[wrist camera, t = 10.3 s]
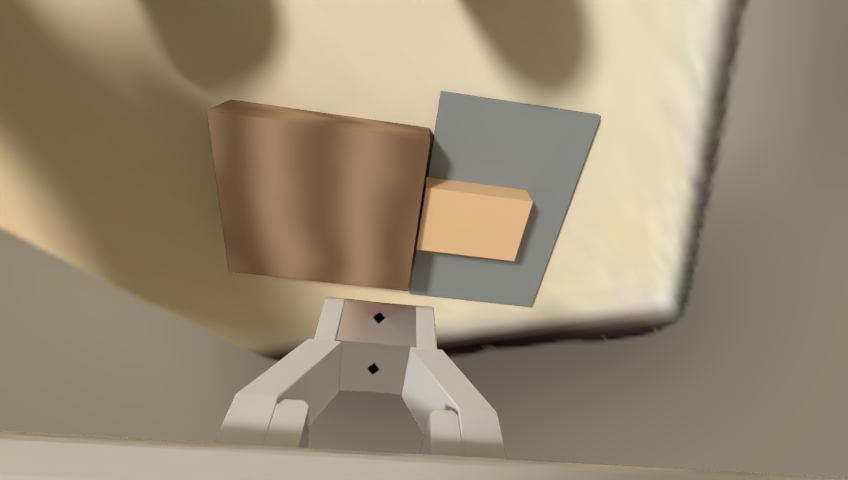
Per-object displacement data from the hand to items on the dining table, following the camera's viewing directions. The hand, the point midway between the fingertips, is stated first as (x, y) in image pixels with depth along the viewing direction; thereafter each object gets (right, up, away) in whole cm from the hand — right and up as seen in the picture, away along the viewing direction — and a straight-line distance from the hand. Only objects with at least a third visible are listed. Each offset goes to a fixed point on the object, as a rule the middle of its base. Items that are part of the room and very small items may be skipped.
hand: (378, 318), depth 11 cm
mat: (+8, +5, +25) cm, 27 cm away
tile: (+6, +5, +24) cm, 25 cm away
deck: (-7, +7, +24) cm, 26 cm away
